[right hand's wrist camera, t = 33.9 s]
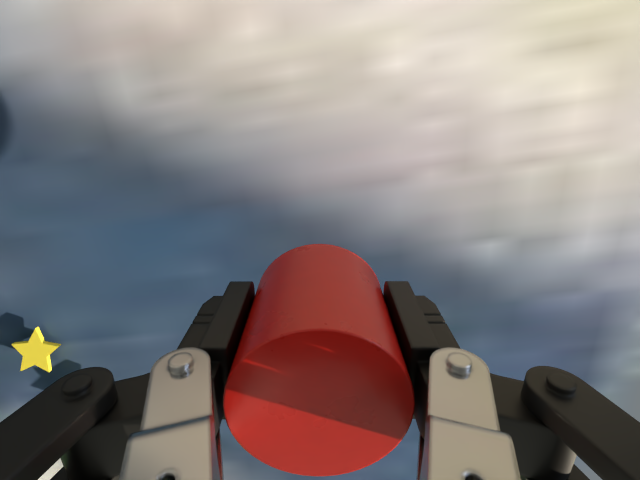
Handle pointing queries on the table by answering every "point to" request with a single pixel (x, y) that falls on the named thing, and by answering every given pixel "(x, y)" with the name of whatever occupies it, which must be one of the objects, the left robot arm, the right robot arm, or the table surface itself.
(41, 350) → the toy game set
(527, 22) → the table surface
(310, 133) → the table surface
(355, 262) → the canister
